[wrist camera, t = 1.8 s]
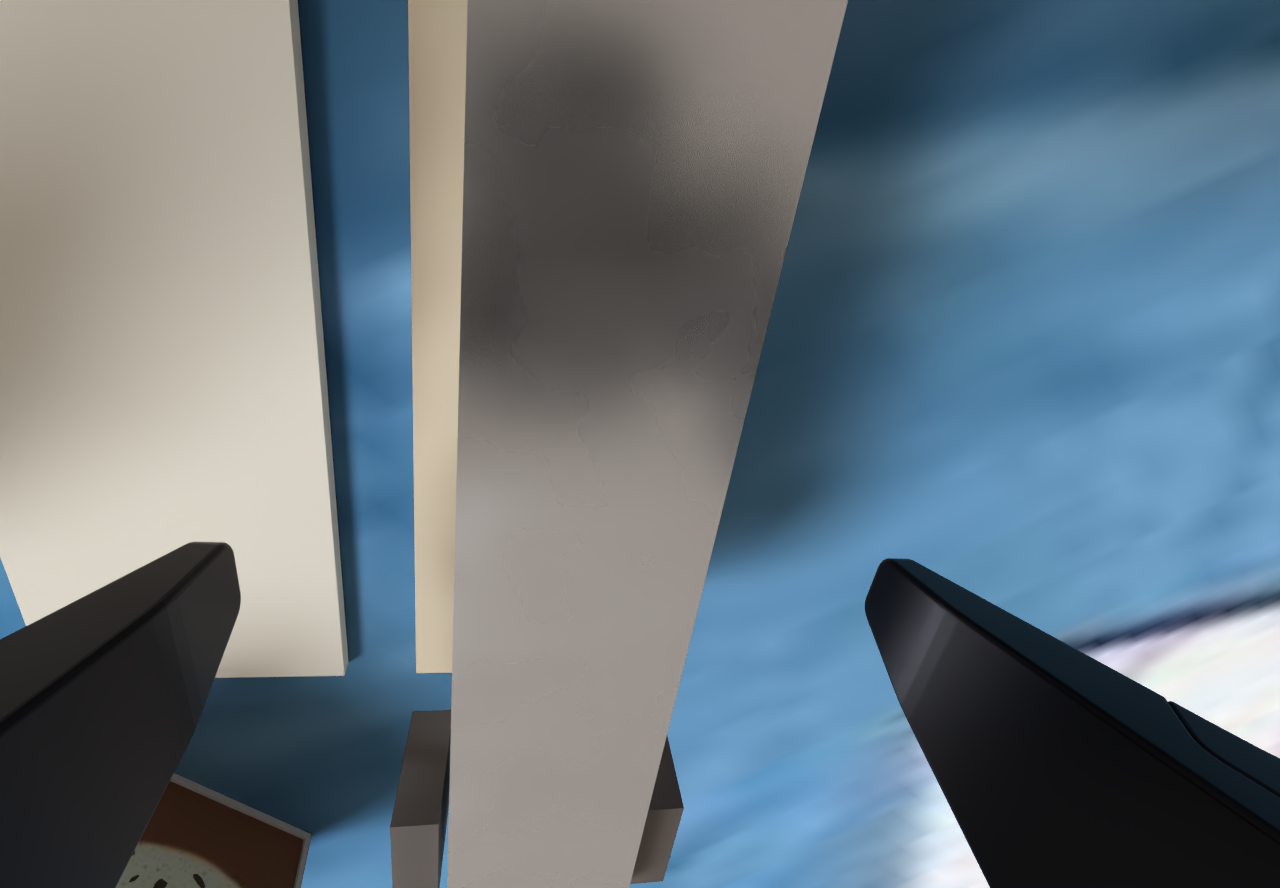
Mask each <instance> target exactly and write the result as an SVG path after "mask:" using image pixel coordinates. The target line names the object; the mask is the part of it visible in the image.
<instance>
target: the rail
mask: <svg viewBox="0 0 1280 888" xmlns="http://www.w3.org/2000/svg"><path fill="white" fill-rule="evenodd" d="M847 2H848V0H468V5H467V49H466V92H465V136H464V179H463V223H462V266H461V310H460V353H459V397H458V440H457V484H456V528H455V571H454V615H453V658H452V702H451V745H450V789H449V832H448V876H447V888H629V887H630V883H631V879H632V874H633V870H634V866H635V862H636V858H637V854H638V850H639V846H640V842H641V838H642V834H643V830H644V826H645V822H646V818H647V814H648V810H649V806H650V801H651V797H652V793H653V789H654V785H655V781H656V777H657V773H658V769H659V765H660V761H661V757H662V753H663V749H664V745H665V741H666V737H667V733H668V728H669V724H670V720H671V716H672V712H673V708H674V704H675V700H676V696H677V692H678V688H679V684H680V680H681V676H682V672H683V668H684V664H685V660H686V655H687V651H688V647H689V643H690V639H691V635H692V631H693V627H694V623H695V619H696V615H697V611H698V607H699V603H700V599H701V595H702V591H703V587H704V582H705V578H706V574H707V570H708V566H709V562H710V558H711V554H712V550H713V546H714V542H715V538H716V534H717V530H718V526H719V522H720V518H721V513H722V509H723V505H724V501H725V497H726V493H727V489H728V485H729V481H730V477H731V473H732V469H733V465H734V461H735V457H736V453H737V449H738V445H739V440H740V436H741V432H742V428H743V424H744V420H745V416H746V412H747V408H748V404H749V400H750V396H751V392H752V388H753V384H754V380H755V376H756V372H757V367H758V363H759V359H760V355H761V351H762V347H763V343H764V339H765V335H766V331H767V327H768V323H769V319H770V315H771V311H772V307H773V303H774V299H775V294H776V290H777V286H778V282H779V278H780V274H781V270H782V266H783V262H784V258H785V254H786V250H787V246H788V242H789V238H790V234H791V230H792V226H793V221H794V217H795V213H796V209H797V205H798V201H799V197H800V193H801V189H802V185H803V181H804V177H805V173H806V169H807V165H808V161H809V157H810V153H811V148H812V144H813V140H814V136H815V132H816V128H817V124H818V120H819V116H820V112H821V108H822V104H823V100H824V96H825V92H826V88H827V84H828V80H829V75H830V71H831V67H832V63H833V59H834V55H835V51H836V47H837V43H838V39H839V35H840V31H841V27H842V23H843V19H844V15H845V11H846V7H847Z"/></svg>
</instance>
